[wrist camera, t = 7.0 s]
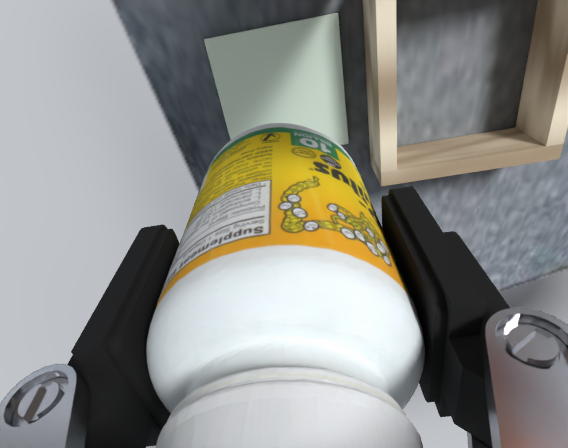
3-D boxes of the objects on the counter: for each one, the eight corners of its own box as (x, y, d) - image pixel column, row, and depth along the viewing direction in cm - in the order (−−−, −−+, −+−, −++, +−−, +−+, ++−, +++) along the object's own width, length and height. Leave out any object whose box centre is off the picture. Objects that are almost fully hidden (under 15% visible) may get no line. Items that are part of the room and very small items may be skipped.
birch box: (360, -35, 20) (374, -37, 17) (571, -78, 19) (622, -89, 16) (370, 164, 27) (381, 186, 24) (527, 138, 26) (559, 158, 23)
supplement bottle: (173, 171, 12) (-29, 524, 4) (313, 83, 11) (405, 375, 3) (262, 274, 15) (239, 618, 7) (385, 215, 13) (542, 567, 5)
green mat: (205, 38, 22) (203, 39, 22) (337, 12, 21) (338, 12, 21) (236, 160, 27) (236, 162, 26) (347, 141, 26) (348, 143, 25)
